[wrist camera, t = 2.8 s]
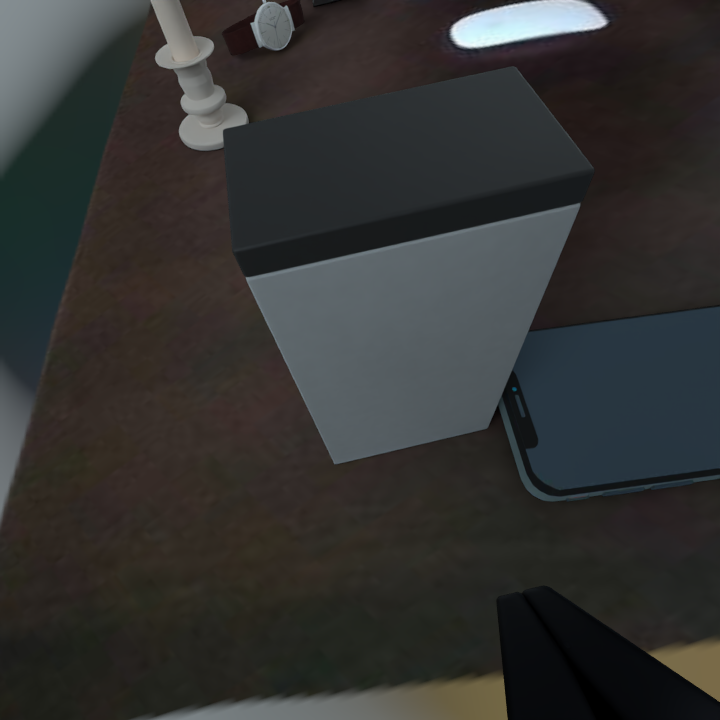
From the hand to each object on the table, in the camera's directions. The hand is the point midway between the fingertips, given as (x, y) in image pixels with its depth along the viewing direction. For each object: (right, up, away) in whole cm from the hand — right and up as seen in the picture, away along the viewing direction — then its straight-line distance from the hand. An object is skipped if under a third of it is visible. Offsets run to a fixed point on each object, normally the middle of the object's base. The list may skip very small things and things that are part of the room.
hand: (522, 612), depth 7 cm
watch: (-11, +32, +32) cm, 47 cm away
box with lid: (-1, +2, +13) cm, 14 cm away
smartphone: (+11, +2, +13) cm, 17 cm away
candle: (-14, +21, +26) cm, 37 cm away
